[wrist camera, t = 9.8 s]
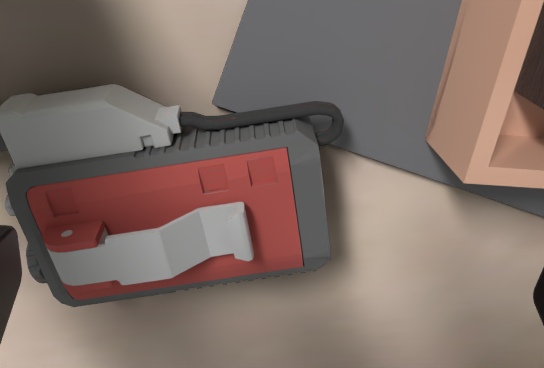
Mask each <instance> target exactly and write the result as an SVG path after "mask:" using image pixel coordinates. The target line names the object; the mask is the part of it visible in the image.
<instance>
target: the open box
mask: <svg viewBox="0 0 544 368" xmlns="http://www.w3.org/2000/svg"><path fill="white" fill-rule="evenodd" d="M543 2H544V0H462V2H461V6H460V9H459V13H458V17H457V21H456V24H455V28H454V32H453V35H452V39H451V43H450V47H449V50H448V54H447V58H446V62H445V65H444V69H443V73H442V77H441V80H440V84H439V88H438V92H437V95H436V99H435V103H434V107H433V110H432V114H431V118H430V122H429V125H428V129H427V133H426V137H425V140H426V141H427V142H428V144H429V145H430V146H431V147H432V148H433V149H434V150H435V151H436V153H437V154H438V155H439V156H440V157H441V158H442V159H443V160H444V162H445V163H446V164H447V165H448V166H449V167H450V168H451V170H452V171H453V172H454V173H455V174H456V175H457V176H458V177H459V179H460V180H461V181H462V182H463V183H467V184H483V185H498V186H513V187H529V188H544V110H543V109H542V108H540V107H539V106H537V105H535V104H534V103H532V102H531V101H529V100H527V99H526V98H524V97H522V96H521V95H519V94H518V93H516V92H514V88H515V85H516V83H517V80H518V77H519V74H520V71H521V68H522V65H523V62H524V59H525V56H526V53H527V50H528V47H529V44H530V41H531V38H532V35H533V32H534V29H535V26H536V23H537V20H538V17H539V14H540V11H541V8H542V5H543Z"/></svg>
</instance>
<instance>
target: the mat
mask: <svg viewBox="0 0 544 368" xmlns="http://www.w3.org/2000/svg"><path fill="white" fill-rule="evenodd" d="M461 2H462V0H248V2H247V5H246V7H245V10H244V13H243V16H242V19H241V22H240V24H239V27H238V30H237V33H236V36H235V39H234V41H233V44H232V47H231V50H230V53H229V56H228V58H227V61H226V64H225V67H224V70H223V72H222V75H221V78H220V81H219V84H218V87H217V89H216V92H215V95H214V98H213V101H212V104H213V105H216V106H219V107H222V108H225V109H228V110H231V111H234V112H237V113H240V112H247V111H253V110H260V109H266V108H273V107H279V106H285V105H292V104H298V103H305V102H311V101H321V102H329V103H332V104H334V105H336V106H337V107H338V108H339V109H340V111H341V113H342V116H343V118H344V124H343V129H342V134H341V135H340V136H339V137H338V138H337V139H336V140H335V141H333V142H331V143H329V144H331V145H334V146H337V147H340V148H343V149H346V150H349V151H351V152H354V153H357V154H360V155H363V156H366V157H369V158H372V159H375V160H378V161H381V162H384V163H387V164H390V165H393V166H395V167H398V168H401V169H404V170H407V171H410V172H413V173H416V174H419V175H422V176H425V177H428V178H431V179H434V180H437V181H440V182H442V183H445V184H448V185H451V186H454V187H457V188H460V189H463V190H466V191H469V192H472V193H475V194H478V195H481V196H484V197H487V198H489V199H492V200H495V201H498V202H501V203H504V204H507V205H510V206H513V207H516V208H519V209H522V210H525V211H528V212H531V213H534V214H536V215H539V216H542V217H544V188H529V187H513V186H498V185H483V184H467V183H463V182H462V181H461V180H460V179H459V177H458V176H457V175H456V174H455V173H454V172H453V171H452V170H451V168H450V167H449V166H448V165H447V164H446V163H445V162H444V160H443V159H442V158H441V157H440V156H439V155H438V154H437V153H436V151H435V150H434V149H433V148H432V147H431V146H430V145H429V144H428V142H427V141H426V140H425V137H426V133H427V129H428V125H429V122H430V118H431V114H432V110H433V107H434V103H435V99H436V95H437V92H438V88H439V84H440V80H441V77H442V73H443V69H444V65H445V62H446V58H447V54H448V50H449V47H450V43H451V39H452V35H453V32H454V28H455V24H456V21H457V17H458V13H459V9H460V6H461ZM308 117H310V120H311V123H312V127H313V130H314V133H316V132H321V131H324V130H326V129H328V128H329V127H330V126H331V125H332V119H333V118H331V117H329V116H326V115H312V116H308Z"/></svg>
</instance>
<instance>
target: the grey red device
mask: <svg viewBox="0 0 544 368" xmlns="http://www.w3.org/2000/svg"><path fill="white" fill-rule="evenodd" d="M312 115H326V116H329V117H331V118H333V119H332V125H331V126H330V127H329V128H328V129H326V130H324V131H321V132H316V133H314V130H313V127H312V123H311V120H310V117H308V116H312ZM343 124H344V118H343V116H342V113H341V111H340V109H339V108H338V107H337V106H336V105H334V104H332V103H329V102H321V101H311V102H305V103H298V104H292V105H285V106H279V107H273V108H266V109H260V110H253V111H247V112H240V113H234V114H228V115H221V116H204V115H201V114H197V113H194V112H181V108H180V105H176V106H170V107H165V106H163V105H161V104H159V103H157V102H155V101H153V100H150V99H148V98H146V97H144V96H142V95H140V94H137V93H135V92H133V91H131V90H129V89H127V88H125V87H122V86H120V85H116V84H110V85H104V86H97V87H91V88H85V89H78V90H72V91H65V92H59V93H52V94H46V95H39V96H37V95H35V94H32V93H27V94H21V95H15V96H11V97H10V98H9V99H8V100H6V101H5V102H4V103H3V104H2V105H1V106H0V151H6V150H8V151H9V153H10V156H11V158H12V160H13V162H14V164H11V165H10V167H9V177H10V178H9V180H8V181H7V182H6V187H7V192H8V196H7V197H6V200H5V207H6V210H7V212H8V214H9V215H11V216H16V217H17V219H18V222H19V224H20V226H21V228H22V230H23V232H24V234H25V236H26V239H27V241H28V246H27V251H26V257H27V264H28V269H29V271H30V274H31V275H32V277H33V278H34V279H35V280H36V281H37V282H39V283H48V285H49V287H50V290H51V292H52V294H53V296H54V297H55V298H56V299H57V300H58V301H60V302H61V303H62V304H66V305H69V306H72V307H77V306H84V305H90V304H97V303H104V302H111V301H117V300H124V299H131V298H137V297H144V296H151V295H158V294H164V293H171V292H176V291H177V290H189V289H190V288H201V287H203V286H214V285H217V284H223V285H224V284H227V283H230V282H236V283H238V282H240V281H244V280H249V281H251V280H253V279H257V278H262V279H264V278H266V277H271V276H275V277H278V276H279V275H284V274H287V275H291V274H292V273H297V272H300V273H305V271H311V270H313V271H316V270H317V269H319V268H320V267H321V266H323V265H324V264H325V263H327V262H328V261H329V260H331V254H330V244H329V235H328V226H327V216H326V207H325V198H324V188H323V179H322V169H321V160H320V153H319V146H322V145H327V144H329V143H331V142H333V141H335V140H336V139H337V138H338V137H339V136H340V135H341V134H342V129H343Z"/></svg>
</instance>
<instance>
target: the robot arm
mask: <svg viewBox="0 0 544 368" xmlns="http://www.w3.org/2000/svg"><path fill="white" fill-rule="evenodd" d="M21 277H22V267H21V259H20V251H19V243H18V236H17V232H16V230H15V229H14V228H13V227H12V226H6V225H0V344H1V341H2V338H3V335H4V332H5V329H6V326H7V323H8V320H9V317H10V314H11V310H12V307H13V304H14V301H15V298H16V295H17V292H18V289H19V286H20V283H21ZM533 299H534V304H535V306H536V309H537V311H538V313H539V316H540V318H541V320H542V323H543V325H544V268H543V270H542V272H541V275H540V277H539V279H538V282H537V284H536V286H535V289H534V293H533Z"/></svg>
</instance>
